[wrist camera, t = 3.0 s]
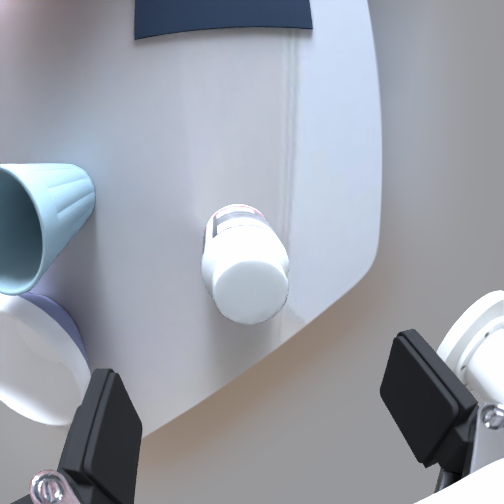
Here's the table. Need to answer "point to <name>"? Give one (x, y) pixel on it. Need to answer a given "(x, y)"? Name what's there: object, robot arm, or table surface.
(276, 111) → the table surface
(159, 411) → the table surface
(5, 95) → the table surface
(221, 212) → the pill bottle
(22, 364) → the bowl
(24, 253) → the cup
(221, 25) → the placemat
